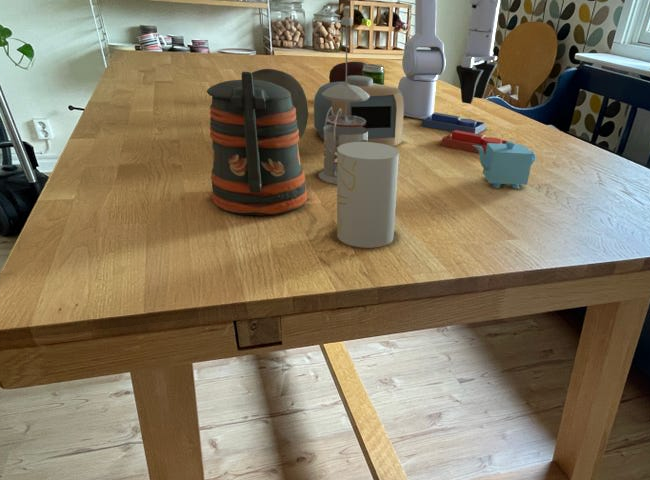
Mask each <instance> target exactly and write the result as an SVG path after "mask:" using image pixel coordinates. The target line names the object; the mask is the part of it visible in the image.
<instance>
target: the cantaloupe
mask: <svg viewBox="0 0 650 480" xmlns="http://www.w3.org/2000/svg"><path fill="white" fill-rule="evenodd" d="M251 73H252V78H253V80H261V81H266V82H270V83H273V84H276V85H278V86H281V87H283V88H285V89H286V90H288V91H289V92H290V93H291V99H292V105H293V106H294V107H295V109H296V112H295V113H296V120H297V126H298V130H299V133H298V135H299V141H300V140H301V138H302V136H303V135H304V133H305V132H306V129H307V126H308V120H309V105H308V100H307V97H306V96H307V95H306V93H305V90H304V88H303V86H302V85H301V83H300V82H299V81H298V80H297V79H296V78H295V77H294V76H293V75H291V74H289V73H288V72H285V71H282V70H278V69H273V68H262V69H258V70H255V71H252V72H251Z"/></svg>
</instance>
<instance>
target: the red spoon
mask: <svg viewBox="0 0 650 480" xmlns="http://www.w3.org/2000/svg"><path fill="white" fill-rule="evenodd" d="M451 133H452V138H451V139H453V140H458V141H463V142H468V143H474V144H479V145H484V146H487V143H498V144H502V140H503V139H501V138H497V137H492V136H491V137H490V136H486V135H485V134H480V133H478V134H475V133H470V132H464V131H459V130H455V131H453V132H452V131H451ZM484 137H485V138H484Z"/></svg>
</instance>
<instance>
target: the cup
mask: <svg viewBox="0 0 650 480" xmlns="http://www.w3.org/2000/svg"><path fill="white" fill-rule="evenodd" d="M336 148H337V152H336V155H337V159H336V160H337V161H336V162H337V184H336V204H337V205H336V237H337V238H338V240H339V241H340V242H342V243H343V244H345V245H348V246H352V247H356V248H365V249H372V248H380V247H381V248H382V247H384V246H388V245H389V244H391V243H392V242H393V240H394V237H395V236H394V235H395V221H396V207H397V188H398V174H399V159H400V151H399V150H398V149H397V148H396V147H395V146H393V147H392V146H389V145H385V144H381V143H374V142H351V143H346V144H342V145H340V146H339V147H336Z"/></svg>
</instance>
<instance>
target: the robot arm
mask: <svg viewBox="0 0 650 480" xmlns="http://www.w3.org/2000/svg"><path fill="white" fill-rule="evenodd" d="M414 3H415V4H414V5H415V6H414V34H413V35H412V36H411V37H410V38H409V39H408V40H407V41H406V42H405V43H404V47H403V49H404V50H403V56H402V60H401V62H402V65H401V66H402V70H403V73H404V76H402V77H401V78H400V79H399V82H398V85H397V88H398V90H399V91H400V92H401V94H402V97H403V100H404V114H403V117H407V118H413V119H419V120H422V119H424V118H426V117H428V116H431V115H432V114H433V113H435V112H434V111H435V102H436V101H435V100H436V91H437V90H436V89H437V82H438V81H440V77H442V75H443V74H444V71H445V69H446V62H447V59H446V55H445V44H444V42H443V41H442V40H441V39H440V37H438V35H437V0H415V1H414ZM469 3H470V4H471V7H470V15H469V22H468V31H467V39H466V48H465V52H464V55H463V56H462V61H461V64H458V65H456V68H455V69H456V71H455V72H456V73H457V76H458V79H459V80H458V81H459V86H460V96H461V97H460V98H461V103H463V104H469V105H471V104H472V103H473V101H474V98H476V99H483V98H484V96H485V94H486V90H487V88H488V85H489V82H490V79H491V78H492V75H493V74H494V72H495V70H496V69H497V66H498V64H497V63H494V62H493V61H498V56H497V55H494V45H495V37H496V31H497V24H498V19H499V18H498V17H499V12H500V5H501V0H469ZM421 48H422V49H421ZM423 48H427V49H423Z"/></svg>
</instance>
